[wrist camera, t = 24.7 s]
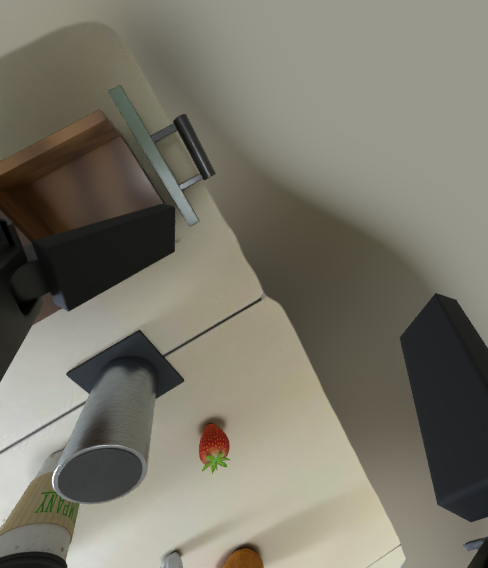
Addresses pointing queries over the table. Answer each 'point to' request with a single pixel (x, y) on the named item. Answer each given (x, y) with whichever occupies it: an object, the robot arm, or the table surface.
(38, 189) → the drawer
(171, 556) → the garlic
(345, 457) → the table surface
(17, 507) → the coffee cup
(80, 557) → the table surface
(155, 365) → the mat
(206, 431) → the fruit
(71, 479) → the silver cylinder
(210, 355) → the table surface
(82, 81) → the table surface
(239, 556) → the bread
